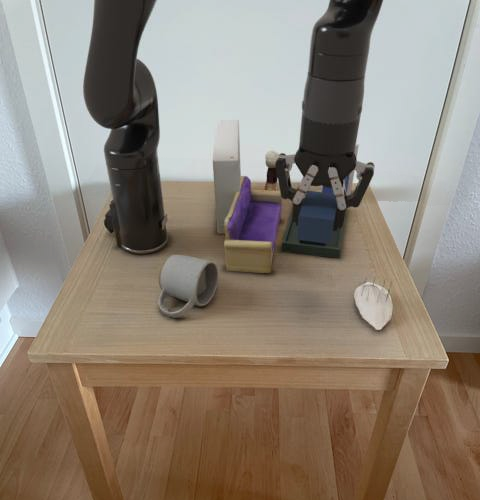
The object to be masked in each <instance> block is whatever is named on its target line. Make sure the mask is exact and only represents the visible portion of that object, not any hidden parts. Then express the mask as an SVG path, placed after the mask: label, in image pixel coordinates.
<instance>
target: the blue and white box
mask: <svg viewBox="0 0 480 500" xmlns="http://www.w3.org/2000/svg"><path fill="white" fill-rule="evenodd" d="M359 146H360V145H359V144H357V143H356V146H355V156H356V159H358V153H359V152H358V151H359ZM355 172H356V170H353V171H352V172H351V173H350V174H349V175H348V176H347V177H346V178H345V179H344V182H345V189H346V193H347V195H352V189H353V183H354V182H353V181H354V176H355ZM321 192H324V193H333V189H332V188H327V187H324V186H322V189H321ZM333 194H334V193H333Z"/></svg>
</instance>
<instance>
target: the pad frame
mask: <svg viewBox="0 0 480 500" xmlns="http://www.w3.org/2000/svg"><path fill="white" fill-rule="evenodd" d="M304 198H305V197H303V199H304ZM292 213H293V208H292V209H291V212H290V216H289V218H288V221H287V225H286V228H285V231H284V234H283V238H282V241H281V252H285V253H293V254H302V255H308V256H309V255H310V256H317V257H325V258H333V259H340V254H341V249H342V242H343V233H344V228H345V227H344V226H345V222H344V223H343V226H342V228H338V230H337V231H333V234H332V239H331V244H326V245H325V246H319V245H311V244H303V243H299V242H300V240H297V229H298V226H296V222H293V220H292ZM346 213H347V210H346V211H345V214H346ZM345 219H346V216H345V217H344V221H345Z"/></svg>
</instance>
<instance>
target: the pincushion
mask: <svg viewBox="0 0 480 500" xmlns="http://www.w3.org/2000/svg"><path fill="white" fill-rule="evenodd" d="M367 279H368V278H367V277H366V278H365V280H364V282H363V283H362V284H360V285H359V286H357V287H356V288H355V289H354V294H353V298H354V301H355V306H356V308H357V309H358V310H359V315H360V316H361V317H362V319H364V320H365V321H366V322H368V324H369V325H370V326H372V327H373V328H374V329H375V330H376V331H377V330H378V331H381V330H382V329H383V328H384V327H385V326H386V325H387V324H388V322H390V321H391V319H392V317H393V310H394V309H393V308H394V305H393V301H392V297H391V295H390V292H391V289H388V290H387V289H386V288H385V285H383V286H381V285H379V284H376V283H375V279H376V278H374V280H373V282H369V281H368V282H367V281H366V280H367ZM385 282H386V277H385V278H384V282H383V284H385ZM392 282H393V281H391V282H390V284H392ZM391 287H392V285H390V286H389V288H391Z"/></svg>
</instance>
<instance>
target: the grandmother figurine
mask: <svg viewBox="0 0 480 500" xmlns="http://www.w3.org/2000/svg"><path fill="white" fill-rule="evenodd" d="M279 154H280V153H278V152H276V151H275V150H274V149H273V150H272V149H271V150H268V151H267V152H266V153H265V156H264V157H265V158H264V159H265V166H266V167H267V171H266V181H265V184H264V187H263V190H268V191H277V186H278V176H277V171H276V165H275V163H276V160H277V158H278V156H279Z"/></svg>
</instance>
